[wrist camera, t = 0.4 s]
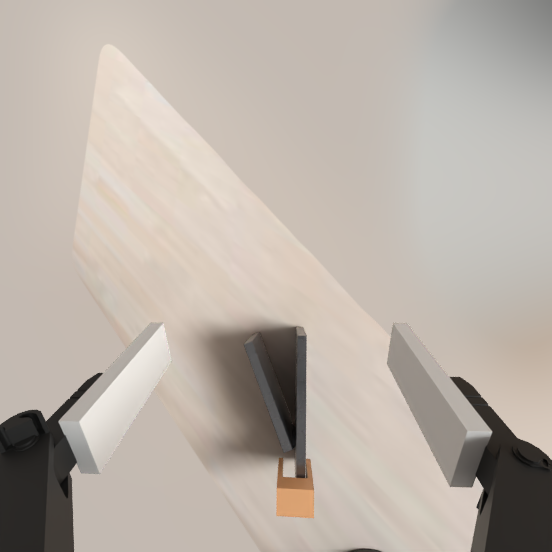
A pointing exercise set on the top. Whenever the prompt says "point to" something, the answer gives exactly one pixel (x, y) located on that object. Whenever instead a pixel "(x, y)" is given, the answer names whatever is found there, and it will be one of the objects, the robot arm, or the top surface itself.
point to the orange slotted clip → (295, 494)
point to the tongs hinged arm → (270, 390)
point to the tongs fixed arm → (300, 405)
